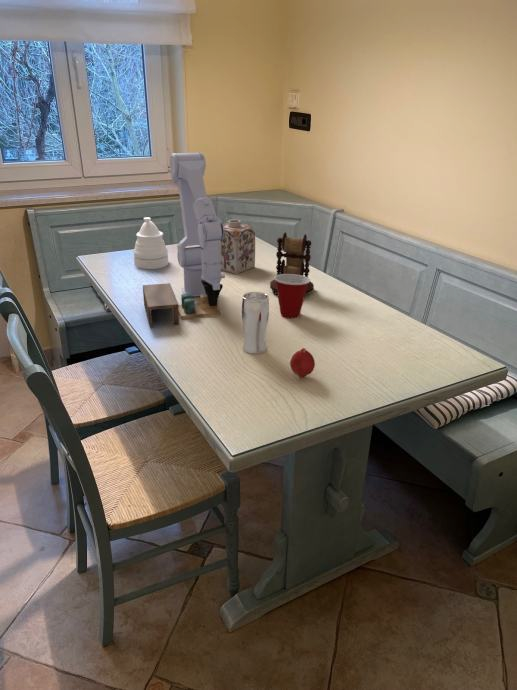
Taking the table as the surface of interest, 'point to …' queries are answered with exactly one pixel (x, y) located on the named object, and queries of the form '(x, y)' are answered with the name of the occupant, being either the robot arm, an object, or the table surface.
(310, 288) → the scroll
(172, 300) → the wooden caddy
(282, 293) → the plastic cup
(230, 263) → the decorative jar
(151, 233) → the honey pot
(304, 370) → the onion
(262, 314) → the beer glass
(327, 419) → the table surface
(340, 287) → the table surface
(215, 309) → the tray
